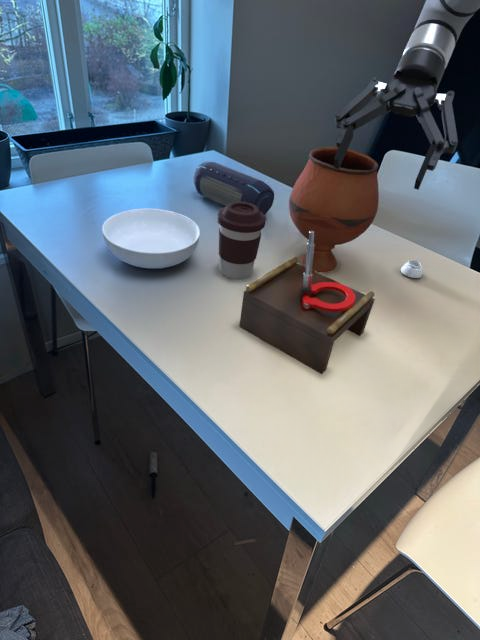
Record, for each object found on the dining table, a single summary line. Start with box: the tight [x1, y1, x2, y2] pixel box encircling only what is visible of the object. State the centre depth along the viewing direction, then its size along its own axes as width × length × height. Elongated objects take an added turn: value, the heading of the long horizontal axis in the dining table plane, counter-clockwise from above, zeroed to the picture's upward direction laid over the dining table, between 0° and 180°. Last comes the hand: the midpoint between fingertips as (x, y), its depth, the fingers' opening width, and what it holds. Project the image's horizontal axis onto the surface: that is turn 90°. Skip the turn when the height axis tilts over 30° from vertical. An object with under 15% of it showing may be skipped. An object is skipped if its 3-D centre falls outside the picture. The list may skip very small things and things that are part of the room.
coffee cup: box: [216, 202, 267, 280], centre depth 95 cm, size 10×10×15 cm
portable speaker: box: [193, 161, 275, 215], centre depth 125 cm, size 25×10×10 cm, turn 50°
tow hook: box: [301, 231, 355, 312], centre depth 74 cm, size 8×13×9 cm
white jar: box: [400, 259, 424, 279], centre depth 106 cm, size 5×3×5 cm
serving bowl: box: [101, 208, 201, 269], centre depth 99 cm, size 21×21×7 cm
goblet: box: [288, 146, 380, 273], centre depth 99 cm, size 19×19×25 cm
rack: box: [239, 256, 376, 375], centre depth 82 cm, size 18×16×10 cm
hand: (375, 174), depth 73 cm, fingers open, 13 cm apart
